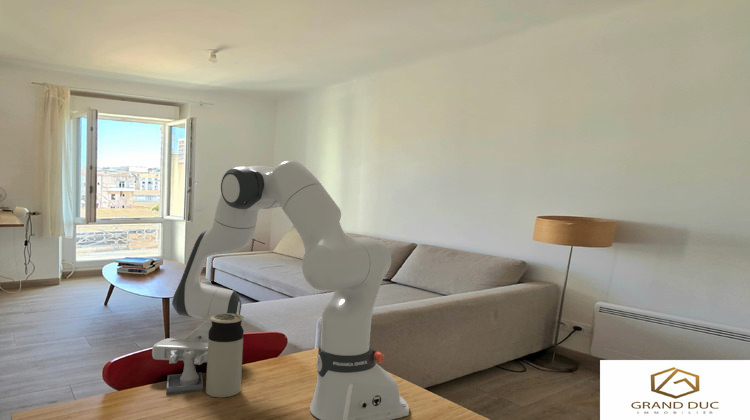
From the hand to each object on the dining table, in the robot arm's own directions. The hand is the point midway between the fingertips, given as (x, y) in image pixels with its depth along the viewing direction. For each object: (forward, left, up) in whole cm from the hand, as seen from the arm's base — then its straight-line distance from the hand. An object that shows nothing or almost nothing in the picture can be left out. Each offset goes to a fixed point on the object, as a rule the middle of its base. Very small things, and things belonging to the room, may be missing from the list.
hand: (184, 361), depth 116 cm
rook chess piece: (-1, -1, -6) cm, 6 cm away
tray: (0, -1, -6) cm, 6 cm away
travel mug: (-9, +5, -7) cm, 12 cm away
